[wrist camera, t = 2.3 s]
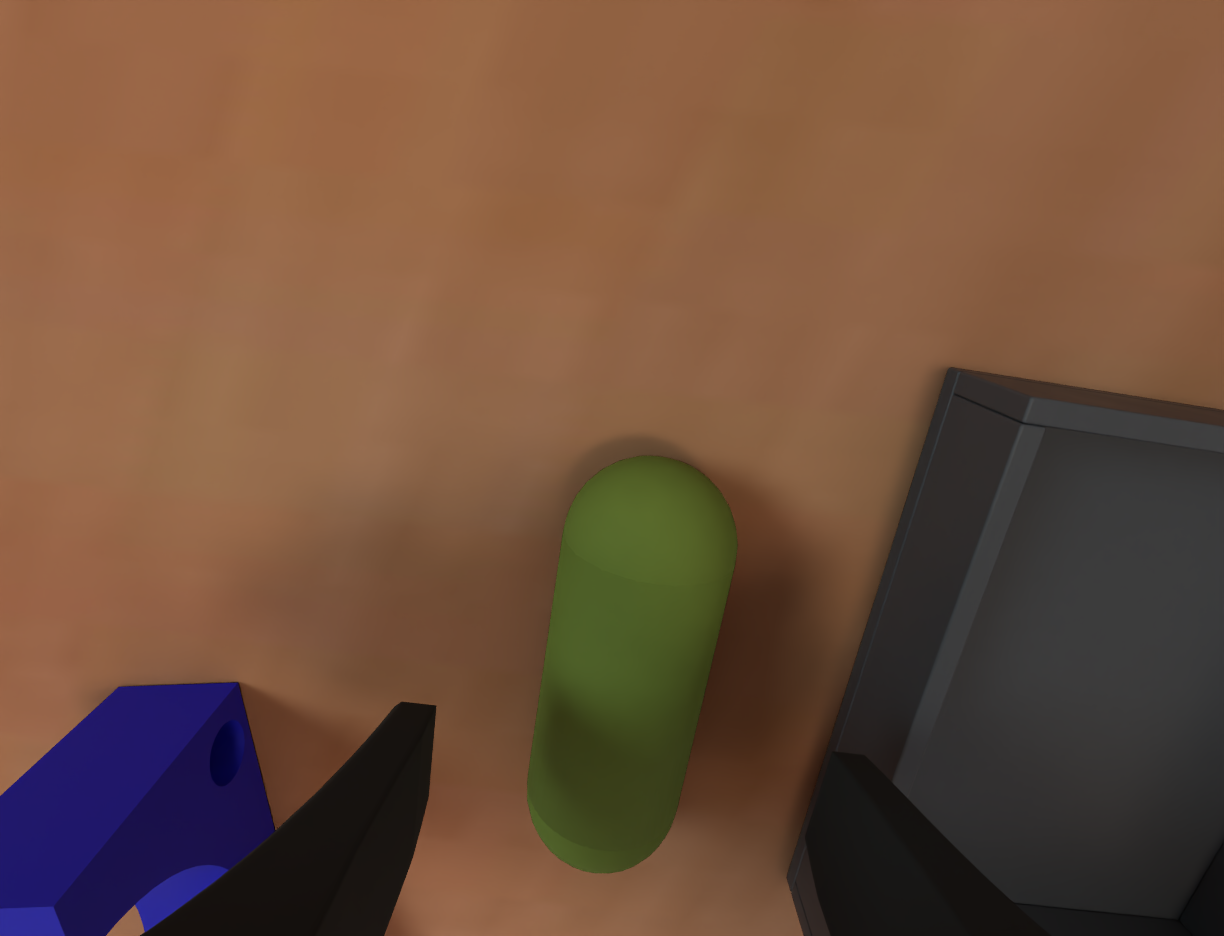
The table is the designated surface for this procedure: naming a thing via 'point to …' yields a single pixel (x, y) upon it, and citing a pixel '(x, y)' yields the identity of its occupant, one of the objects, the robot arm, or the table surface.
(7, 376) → the table surface
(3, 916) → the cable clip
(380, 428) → the table surface
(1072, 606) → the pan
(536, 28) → the table surface
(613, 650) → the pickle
